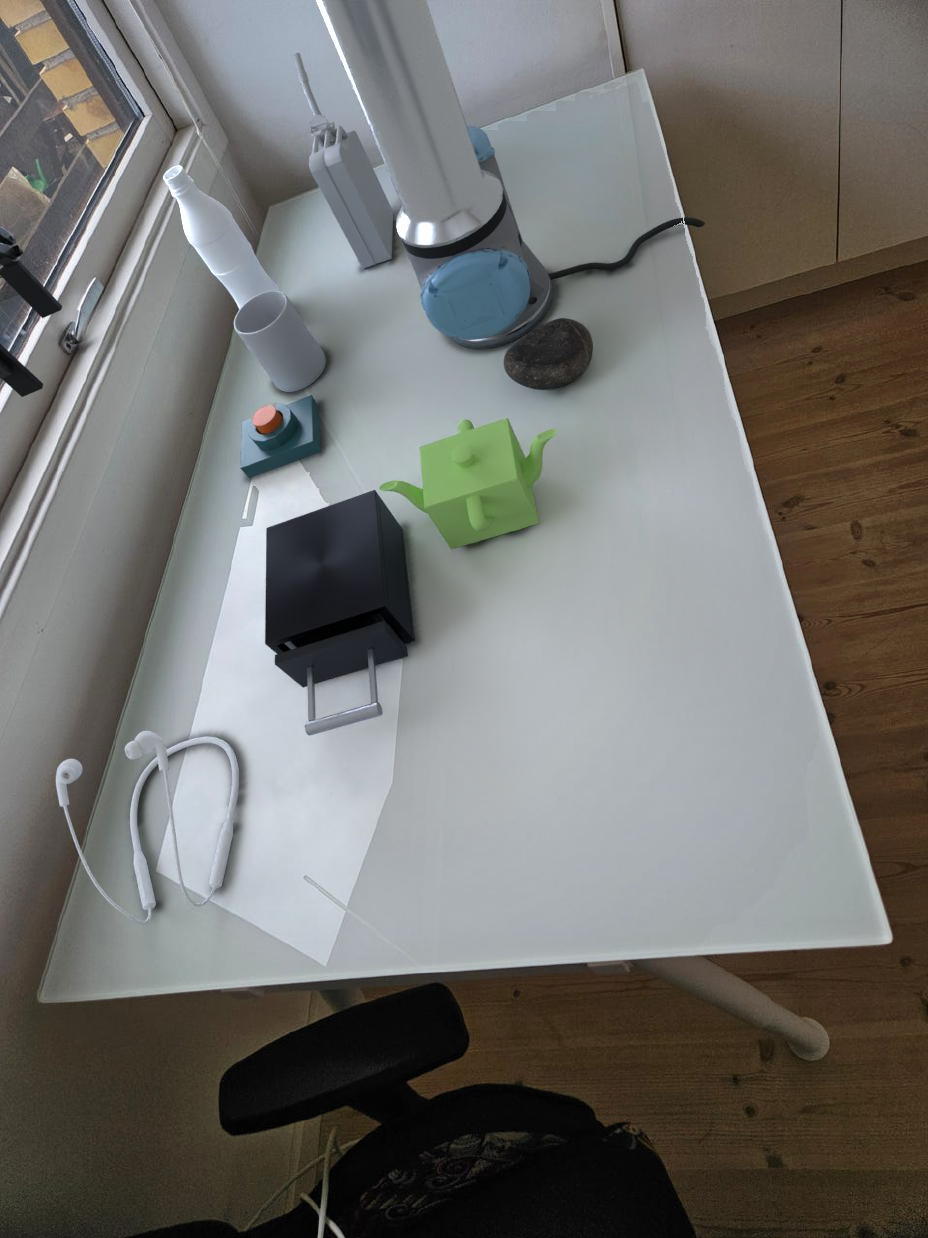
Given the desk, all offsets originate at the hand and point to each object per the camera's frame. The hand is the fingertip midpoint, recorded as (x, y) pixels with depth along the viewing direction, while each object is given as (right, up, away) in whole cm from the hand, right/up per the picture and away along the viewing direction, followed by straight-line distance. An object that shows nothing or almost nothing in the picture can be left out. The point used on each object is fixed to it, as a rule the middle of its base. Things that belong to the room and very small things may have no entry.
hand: (43, 350), depth 92 cm
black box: (+35, -28, +2) cm, 45 cm away
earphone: (+18, -53, -5) cm, 56 cm away
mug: (+24, +7, +28) cm, 37 cm away
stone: (+59, +1, +9) cm, 60 cm away
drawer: (+36, -33, -3) cm, 49 cm away
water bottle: (+18, +17, +36) cm, 43 cm away
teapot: (+51, -18, +1) cm, 54 cm away
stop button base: (+23, -6, +20) cm, 31 cm away
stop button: (+22, -4, +17) cm, 28 cm away
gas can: (+34, +30, +37) cm, 59 cm away
